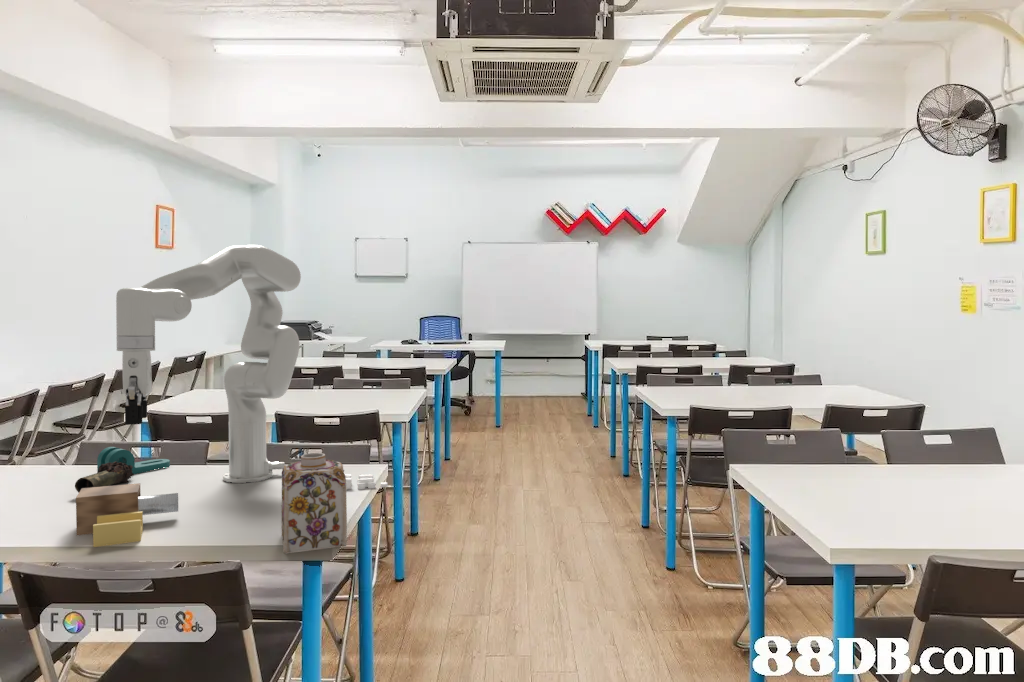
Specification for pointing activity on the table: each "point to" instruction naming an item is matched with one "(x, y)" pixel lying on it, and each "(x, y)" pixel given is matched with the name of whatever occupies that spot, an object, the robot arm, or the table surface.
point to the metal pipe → (106, 476)
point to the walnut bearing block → (104, 504)
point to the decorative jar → (313, 504)
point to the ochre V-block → (118, 529)
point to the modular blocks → (363, 481)
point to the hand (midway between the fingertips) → (136, 421)
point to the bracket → (129, 460)
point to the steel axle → (158, 503)
